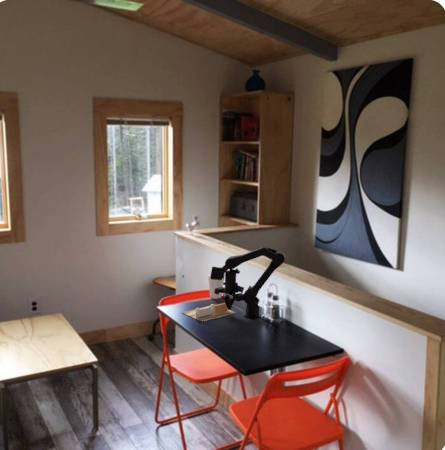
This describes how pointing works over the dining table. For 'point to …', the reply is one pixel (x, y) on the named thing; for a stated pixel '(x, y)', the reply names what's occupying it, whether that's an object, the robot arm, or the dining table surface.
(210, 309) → the fence fixed
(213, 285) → the foam cup
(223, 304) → the gate panel
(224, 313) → the card
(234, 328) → the dining table surface
